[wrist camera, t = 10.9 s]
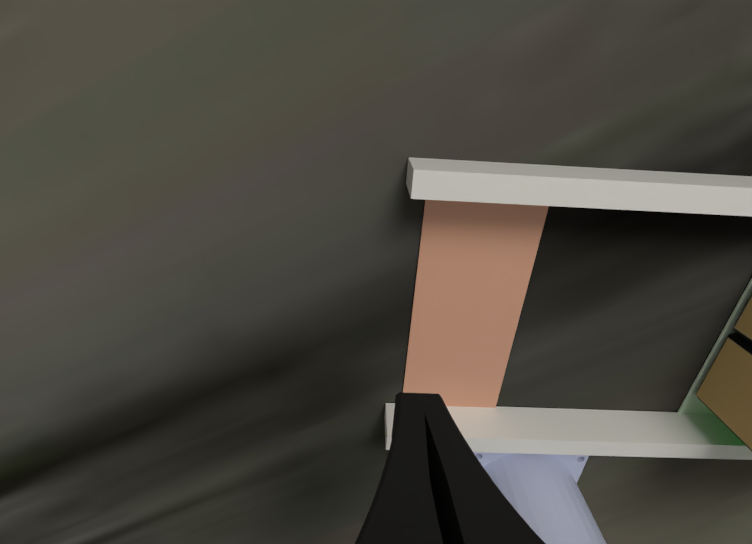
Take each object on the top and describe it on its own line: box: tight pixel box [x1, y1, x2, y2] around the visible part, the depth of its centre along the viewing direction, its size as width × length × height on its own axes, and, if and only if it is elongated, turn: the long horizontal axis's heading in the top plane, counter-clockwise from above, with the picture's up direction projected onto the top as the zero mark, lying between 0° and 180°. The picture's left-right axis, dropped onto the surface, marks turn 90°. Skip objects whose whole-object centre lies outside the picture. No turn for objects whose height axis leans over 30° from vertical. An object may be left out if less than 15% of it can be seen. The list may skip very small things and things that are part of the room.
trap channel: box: [384, 157, 752, 460], centre depth 21 cm, size 16×31×2 cm, turn 87°
